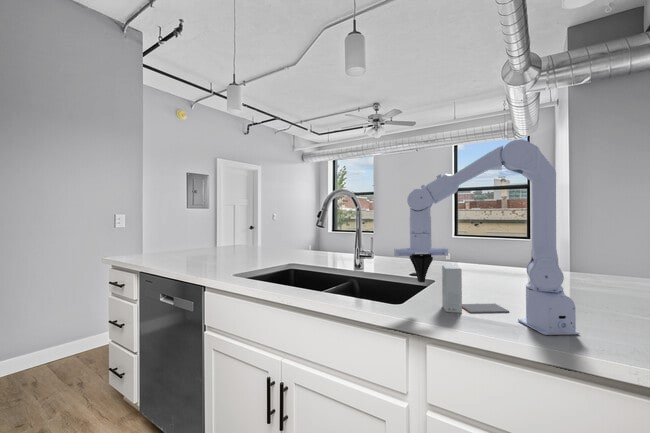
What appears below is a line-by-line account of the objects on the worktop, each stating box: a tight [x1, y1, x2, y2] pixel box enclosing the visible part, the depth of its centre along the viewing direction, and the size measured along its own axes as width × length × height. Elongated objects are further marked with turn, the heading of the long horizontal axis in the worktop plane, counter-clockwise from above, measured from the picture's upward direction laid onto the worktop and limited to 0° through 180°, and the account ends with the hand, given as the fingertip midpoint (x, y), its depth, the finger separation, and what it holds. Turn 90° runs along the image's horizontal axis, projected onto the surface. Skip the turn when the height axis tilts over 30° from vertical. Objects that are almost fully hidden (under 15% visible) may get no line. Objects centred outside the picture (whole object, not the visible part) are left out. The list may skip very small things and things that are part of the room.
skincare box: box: [441, 264, 463, 314], centre depth 87 cm, size 6×4×12 cm
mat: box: [462, 303, 510, 314], centre depth 87 cm, size 7×10×1 cm, turn 90°
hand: (421, 281), depth 87 cm, fingers closed
